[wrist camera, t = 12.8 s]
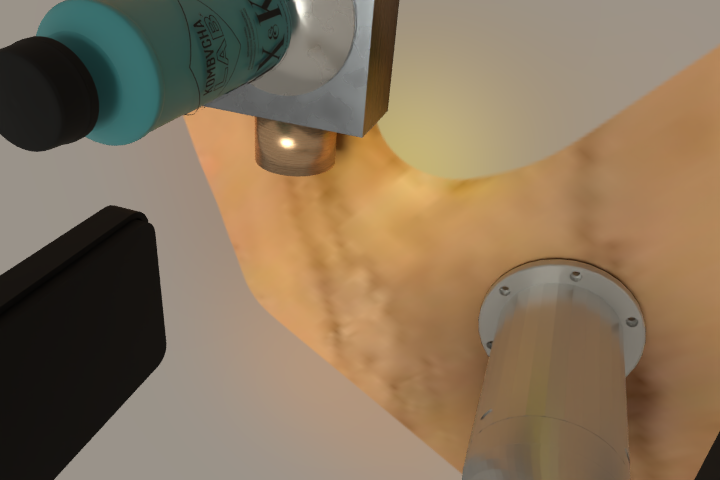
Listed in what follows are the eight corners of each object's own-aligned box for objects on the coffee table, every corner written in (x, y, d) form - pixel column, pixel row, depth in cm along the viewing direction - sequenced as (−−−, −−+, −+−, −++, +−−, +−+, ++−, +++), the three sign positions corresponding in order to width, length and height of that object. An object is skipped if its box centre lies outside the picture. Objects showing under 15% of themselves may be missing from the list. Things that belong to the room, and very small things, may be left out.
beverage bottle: (236, 80, 42) (2, 204, 26) (195, -22, 40) (-92, 43, 23) (321, 54, 40) (121, 174, 23) (283, -57, 37) (28, -13, 21)
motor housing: (382, 160, 49) (355, 194, 44) (242, 131, 52) (200, 160, 46) (410, -103, 40) (380, -102, 34) (238, -121, 43) (185, -122, 37)
